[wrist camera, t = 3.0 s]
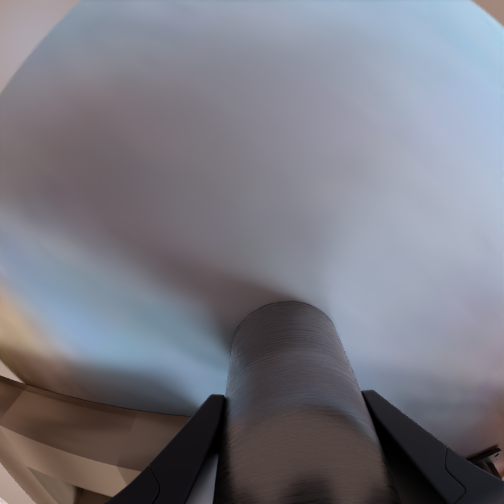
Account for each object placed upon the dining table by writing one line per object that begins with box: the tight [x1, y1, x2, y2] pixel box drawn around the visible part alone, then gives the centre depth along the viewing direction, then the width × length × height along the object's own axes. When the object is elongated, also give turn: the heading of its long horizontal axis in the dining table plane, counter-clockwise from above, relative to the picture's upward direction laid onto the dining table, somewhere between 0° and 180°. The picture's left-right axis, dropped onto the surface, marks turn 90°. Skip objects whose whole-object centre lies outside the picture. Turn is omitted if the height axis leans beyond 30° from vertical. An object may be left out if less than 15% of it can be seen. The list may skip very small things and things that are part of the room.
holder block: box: [0, 376, 191, 504], centre depth 13 cm, size 14×14×4 cm
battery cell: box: [212, 301, 402, 504], centre depth 7 cm, size 4×4×9 cm
